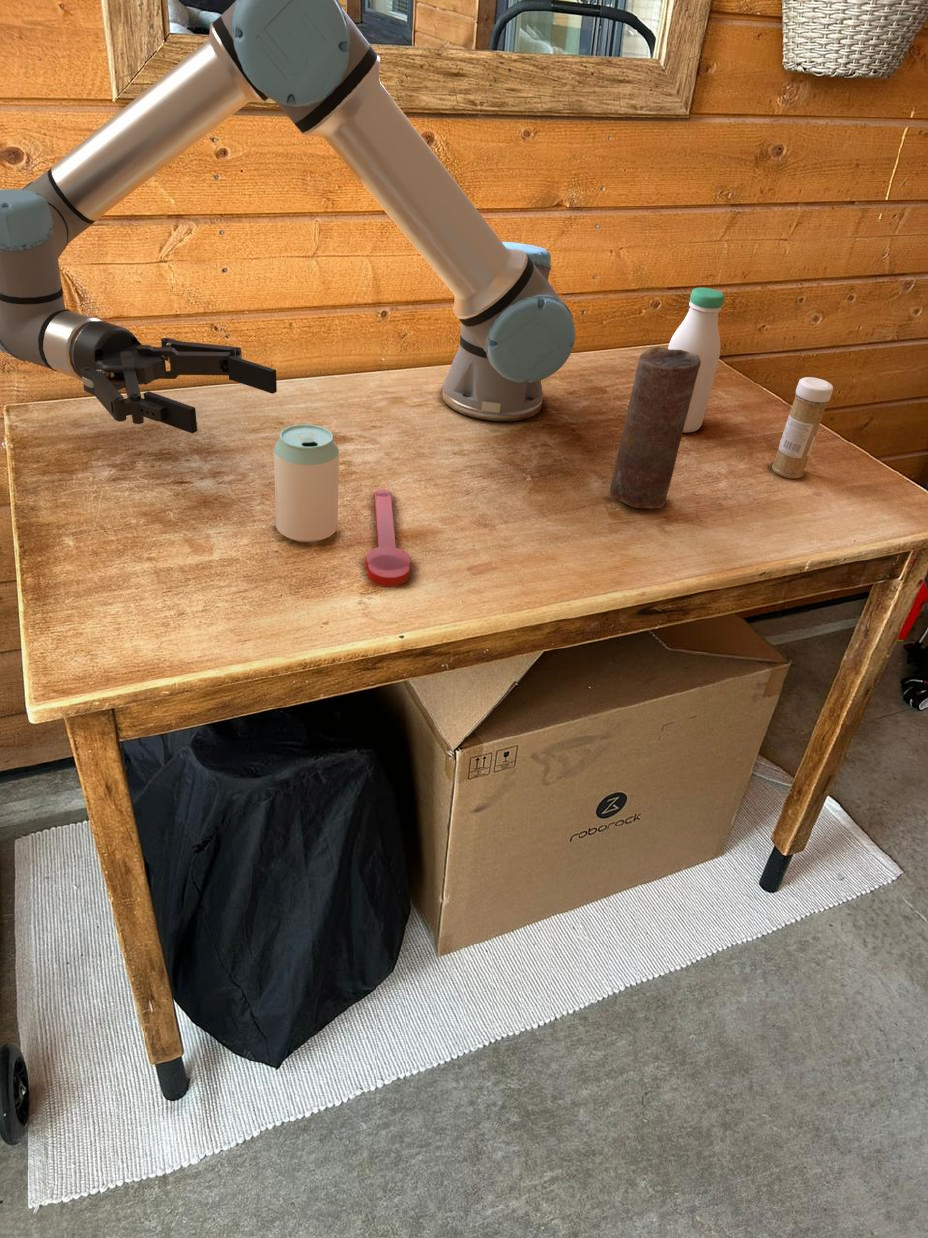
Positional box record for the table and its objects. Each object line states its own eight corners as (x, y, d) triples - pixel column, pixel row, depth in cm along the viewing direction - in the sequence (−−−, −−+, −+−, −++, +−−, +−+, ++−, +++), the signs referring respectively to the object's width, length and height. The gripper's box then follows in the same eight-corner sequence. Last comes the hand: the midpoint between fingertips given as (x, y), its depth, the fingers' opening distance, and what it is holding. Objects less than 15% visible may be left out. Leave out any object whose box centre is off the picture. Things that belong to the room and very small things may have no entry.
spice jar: (809, 476, 132) (841, 386, 124) (788, 482, 130) (819, 391, 122) (784, 462, 135) (814, 373, 127) (763, 468, 133) (792, 378, 125)
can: (349, 528, 109) (352, 434, 102) (310, 553, 104) (310, 456, 97) (303, 508, 112) (302, 415, 105) (263, 531, 107) (259, 435, 100)
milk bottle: (703, 419, 145) (738, 289, 133) (697, 438, 139) (733, 304, 127) (655, 408, 147) (685, 279, 135) (646, 426, 141) (677, 293, 129)
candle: (650, 523, 117) (688, 370, 105) (598, 503, 120) (629, 352, 108) (672, 500, 123) (711, 353, 111) (622, 482, 125) (654, 336, 113)
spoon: (361, 495, 116) (362, 486, 115) (402, 496, 116) (402, 487, 116) (366, 586, 100) (366, 577, 99) (412, 587, 101) (413, 578, 100)
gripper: (172, 353, 122) (304, 396, 115) (14, 415, 104) (159, 472, 97) (166, 295, 118) (303, 337, 110) (0, 350, 99) (151, 404, 92)
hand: (236, 400), depth 103 cm, fingers open, 13 cm apart
